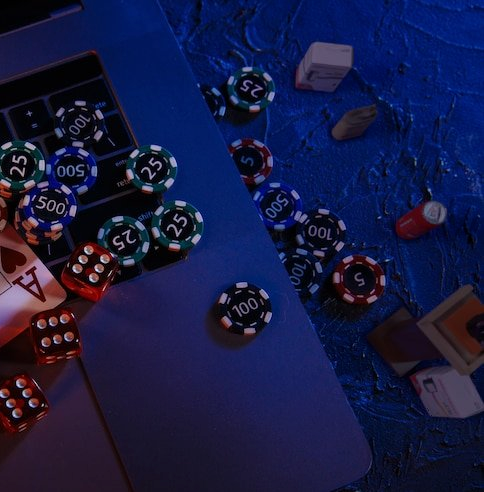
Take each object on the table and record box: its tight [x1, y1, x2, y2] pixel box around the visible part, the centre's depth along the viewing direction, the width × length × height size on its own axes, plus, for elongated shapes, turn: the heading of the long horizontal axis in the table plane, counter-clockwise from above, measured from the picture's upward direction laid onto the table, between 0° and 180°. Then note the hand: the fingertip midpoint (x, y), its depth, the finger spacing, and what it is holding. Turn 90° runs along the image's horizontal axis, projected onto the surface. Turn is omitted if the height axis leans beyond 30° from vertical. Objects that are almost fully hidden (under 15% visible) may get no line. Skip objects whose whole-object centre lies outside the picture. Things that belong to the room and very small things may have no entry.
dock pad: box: [416, 283, 484, 376], centre depth 100 cm, size 10×10×2 cm
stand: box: [364, 306, 446, 378], centre depth 112 cm, size 10×10×23 cm
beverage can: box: [395, 200, 448, 241], centre depth 123 cm, size 5×5×12 cm
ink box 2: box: [408, 364, 484, 419], centre depth 115 cm, size 9×5×12 cm, turn 22°
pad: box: [443, 296, 484, 355], centre depth 96 cm, size 6×6×7 cm
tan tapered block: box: [331, 103, 379, 141], centre depth 129 cm, size 7×4×10 cm, turn 105°
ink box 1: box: [295, 41, 355, 93], centre depth 131 cm, size 9×5×12 cm, turn 83°
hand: (478, 325), depth 97 cm, fingers closed on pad, 2 cm apart
